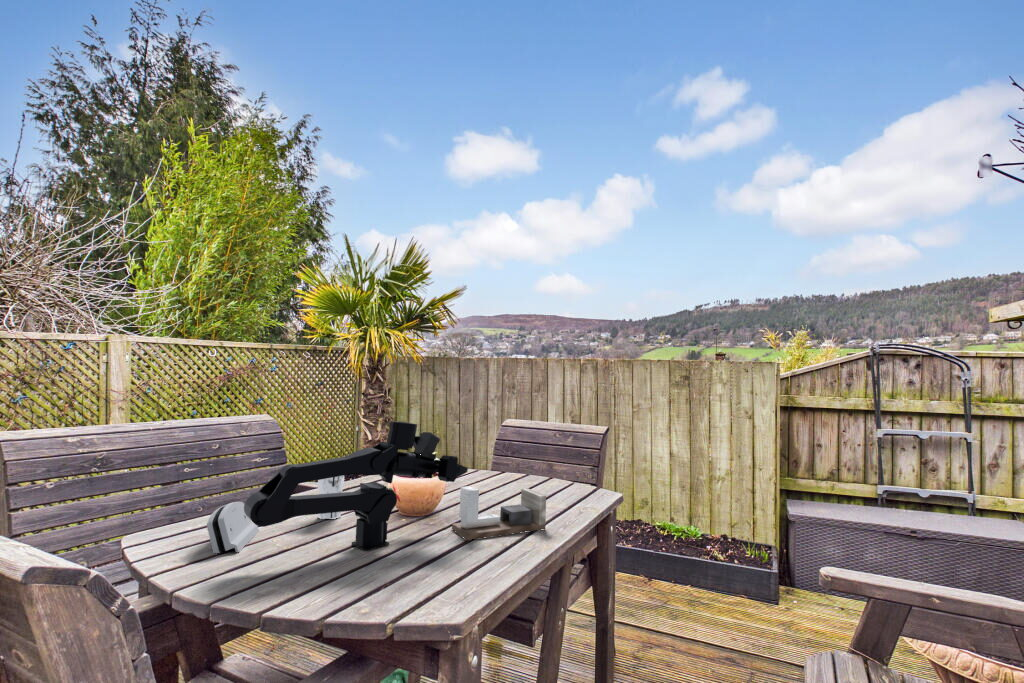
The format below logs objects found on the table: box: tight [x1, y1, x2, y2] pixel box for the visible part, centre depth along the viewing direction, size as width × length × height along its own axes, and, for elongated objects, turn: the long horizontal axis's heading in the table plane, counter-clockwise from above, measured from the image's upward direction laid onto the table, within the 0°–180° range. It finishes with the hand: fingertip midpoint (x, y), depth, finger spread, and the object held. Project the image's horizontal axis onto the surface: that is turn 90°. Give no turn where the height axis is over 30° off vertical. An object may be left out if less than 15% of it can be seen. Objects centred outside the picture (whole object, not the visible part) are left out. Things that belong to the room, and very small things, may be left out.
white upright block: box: [317, 475, 345, 520], centre depth 143 cm, size 7×7×15 cm
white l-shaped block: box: [459, 485, 500, 529], centre depth 133 cm, size 10×5×10 cm, turn 119°
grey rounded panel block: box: [206, 501, 260, 554], centre depth 120 cm, size 17×5×10 cm, turn 12°
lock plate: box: [451, 487, 547, 541], centre depth 136 cm, size 23×10×9 cm, turn 119°
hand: (456, 468), depth 138 cm, fingers open, 9 cm apart
